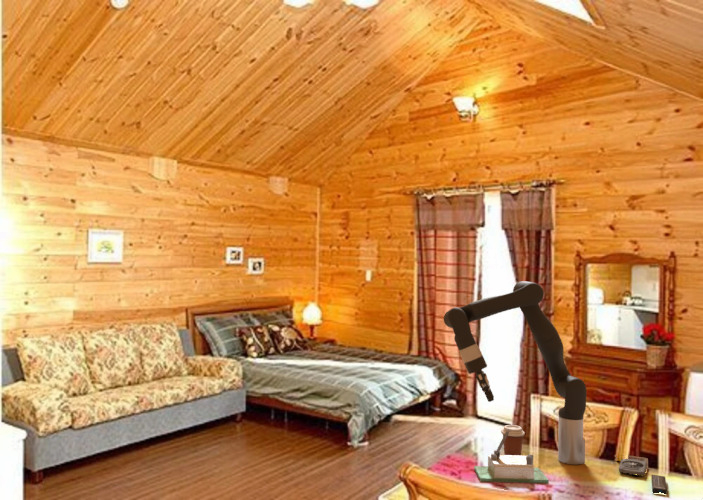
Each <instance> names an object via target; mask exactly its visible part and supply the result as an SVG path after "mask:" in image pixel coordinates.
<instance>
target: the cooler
mask: <svg viewBox="0 0 703 500" xmlns="http://www.w3.org/2000/svg"><path fill="white" fill-rule="evenodd" d="M496 451H497V449H496V450H494V451H493V453H491V454H488V456H487V466H485V465H484V466H483V465H482V466H480V465H478V466H477V465H473V466H474V467H473V470H474V471H475V474H476V475H477V478H478V479H480V480H479V482H480V481H481V483H484V481H485V483H515V484H517V483H518V484H519V483H520V484H521V483H522V484H549V483H550V482H549V478H548V477H547V476H546V475H545V474H544V473H543V471H542V470H541V469H540V468H539V467H534V455H533V454H527V455H522V454H521V455H504V454H501V450H500V451H499V453H498V456H497V455H496V454H495V452H496Z"/></svg>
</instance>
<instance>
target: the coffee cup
mask: <svg viewBox="0 0 703 500" xmlns="http://www.w3.org/2000/svg"><path fill="white" fill-rule="evenodd" d="M508 429H509V430H510V432H509V434H508V436H507V438H506V440H505V442H504V444H503V455H521V456H522V452H523V451H522V449H523V439H524V436H525V433H526V432H525V431H524V430H523V427H521V426H519V425H515V424H507V425H504V426H503V428H502V429H501V431H500V432H501V434H502V438H503V437H504V435H505V433H506V431H507V430H508Z"/></svg>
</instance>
